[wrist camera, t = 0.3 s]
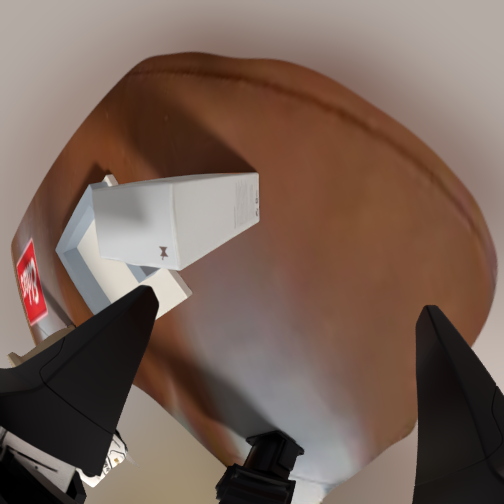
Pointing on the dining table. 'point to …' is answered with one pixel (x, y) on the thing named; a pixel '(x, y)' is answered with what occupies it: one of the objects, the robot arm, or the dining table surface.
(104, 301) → the stop cradle
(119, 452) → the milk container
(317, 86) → the dining table surface
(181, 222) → the skincare box
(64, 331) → the handle
